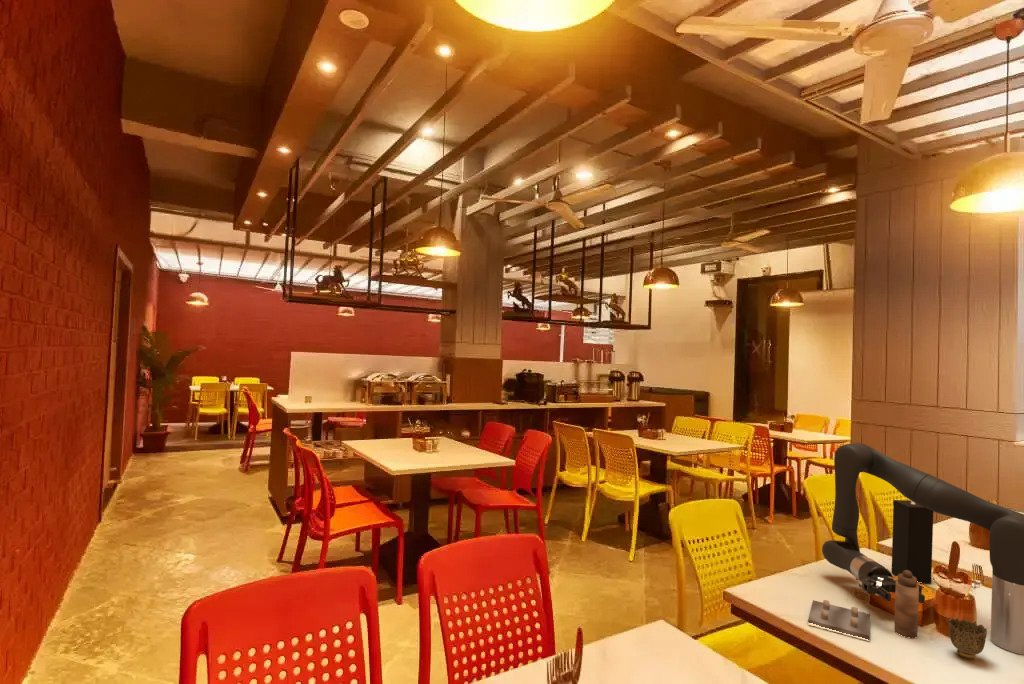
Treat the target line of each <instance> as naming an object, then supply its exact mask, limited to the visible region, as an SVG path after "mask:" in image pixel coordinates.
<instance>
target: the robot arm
mask: <svg viewBox="0 0 1024 684" xmlns="http://www.w3.org/2000/svg"><path fill="white" fill-rule="evenodd" d="M833 459H834V460H833V463H834V466H833V467H834V487H835V488H834V491H835V492H834V495H835V496H834V506H833V507H834V509H833V515H832V523H831V530H832V532H833V533H834V534H835V535H838V536H839V537H842V538H845V539H844V540H843V541H842V540H833V539H831V540H826V541H824V543H823V544H822V545H821V552H822V555H823V557H824V559H825V560H826V562H828V563H830V564H831V565H833V566H835V567H837V568H840V569H842V570H845V571H847V572H849V573H850V574H851V575H852V576H853V577H855V579H857V580H858V587H859V588H861V590H863V591H864V592H865V593H866V594H867V595H873V594H875V596H878V597H880V598H882V599H883V600H885V601H886V602H891V601H892V594H894V593H895V590H896V581H897V580H898V578H896V577H894V575H893V574H892V573H891V571H890V570H889V569H888V568H886V567H885V566H883V565H881V563H879V562H877V561H876V560H874V559H872V558H871V557H868V556H867V555H865V554H864V553H862V552H861V550H860V544H859V538H858V527H859V521H860V520H859V519H860V508H859V507H860V506H859V502H858V497H857V491H856V490H857V482H858V479H859V476H860V473H865V474H868V475H871V476H874V477H876V478H878V479H881V480H883V481H884V482H887V483H888V484H890V485H891V486H892V487H894V488H895V490H896V491H898V492H899V493H900V494H902V496H903V497H904V498H906V499H907V500H910V501H913V502H915V503H917V504H919V505H921V506H923V507H925V508H927V509H929V510H932V511H934V513H936V514H937V513H938V514H940V515H944V516H946V517H949V518H952V519H953V518H954V519H958V520H962V521H964V522H968V523H972V524H974V525H977V526H979V527H981V528H983V529H985V530H987V531H989V538H988V540H989V563H990V565H991V568H992V573H991V574H992V575H991V576H992V577H991V604H990V606H991V607H990V630H989V634H990V641H991V643H993V644H994V645H996V646H997V647H1000V648H1002V649H1003V650H1006V651H1009V652H1012V653H1015V654H1018V655H1023V656H1024V513H1021V512H1018V511H1016V510H1012V509H1010V508H1007V507H1004V506H1001V505H998V504H995V503H993V502H990V501H989V500H988V501H987V499H983V498H981V497H979V496H976V495H975V494H973V493H971V492H969V491H967V490H964V489H963V488H960V487H958V486H956V485H954V484H952V483H949V482H947V481H945V480H943V479H941V478H938V477H936V476H934V475H932V474H931V473H927V472H924V471H922V470H920V469H918V468H915V467H912V466H911V465H908V464H906V463H902V462H900V461H897V460H896V459H893V458H892V457H890V456H888V455H885V454H884V453H882V452H880V451H879V450H877V449H875V448H873V447H872V446H869V445H867V444H864V443H861V442H852V443H846V444H841V445H840V446H838V448H836V450H835V453H834V457H833ZM918 586H919V599H918V603H920V604H925V602H926V601H925V600H926V596H925V595H924V594H923V588H922V586H920V585H918Z"/></svg>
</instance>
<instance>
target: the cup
mask: <svg viewBox="0 0 1024 684" xmlns="http://www.w3.org/2000/svg"><path fill="white" fill-rule="evenodd" d="M947 621H948V630H949V631H948V632H949V633H948V634H949V638H950V641H951V644H952V645H953V647H955V648H956V653H957V655H958V656H959V657H961V658H963V659H964V658H965V660H968V661H974V660H976V659H977V655H979V654H981V653H982V652H983V650H984V648H985V644H986V641H987V640H986V639H987V634H988V629H987V628H986V627H984V625H983V624H977V622H976V621H973V623H972V622H971V620H970V619H967V620H966V619H965V618H962V619H961V620H960V619H959V617H956V618H953V617H950V618H949V619H948V620H947Z"/></svg>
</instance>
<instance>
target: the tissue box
mask: <svg viewBox="0 0 1024 684" xmlns="http://www.w3.org/2000/svg"><path fill="white" fill-rule="evenodd" d="M892 506H893V508H892V509H893V510H892V511H893V512H892V514H893V515H892V538H891V539H892V544H891V571H890V573H891V574H892V576H895V575H898V574H902V573H903V571H904V570H909V571H910V572H911V573H912V575H913V576H914V577H916V578H917V581H918V582H922V583H925V584H926V585H927V584H928V585H932V569H933V568H932V566H933V563H932V562H933V542H934V541H933V538H934V537H933V536H934V533H933V532H934V513H935V512H934V511H932V510H929V509H927V508H925V507H923V506H921V505H919V504H917V503H915V502H913V501H911V500H909V499H907V500H906V499H903V500H902V499H900V500H899V499H893V501H892ZM925 584H924V585H925Z"/></svg>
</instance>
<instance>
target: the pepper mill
mask: <svg viewBox="0 0 1024 684" xmlns="http://www.w3.org/2000/svg"><path fill="white" fill-rule="evenodd" d="M919 586H920V585H919V584H918V583H917V578H916V577H914V576H913V575H912V573H911V572H910V571H909V570H904V571H903V573H902V574H898V577H897V581H896V590H895V594H894V595H895V596H894V598H895V599H894V625H893V626H894V630H895V631H894V632H895V633H896V632H897V633H898V634H897V633H896V634H897V635H899V634H900V635H899V636H901V635H902V636H901V637H904V636H905V637H904V638H907V637H910V638H909V639H916V638H915V637H917V638H918V628H919V627H918V624H919V602H918V599H919Z"/></svg>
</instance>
